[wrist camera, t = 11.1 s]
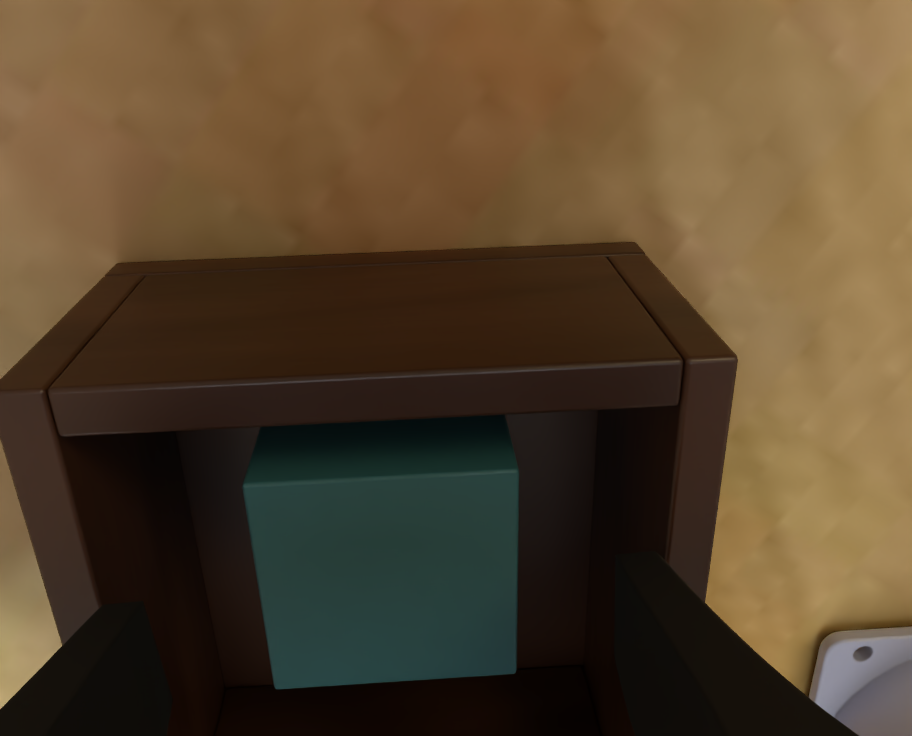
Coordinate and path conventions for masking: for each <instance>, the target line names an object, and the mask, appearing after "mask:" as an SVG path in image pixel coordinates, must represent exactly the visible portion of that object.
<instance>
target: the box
mask: <svg viewBox="0 0 912 736" xmlns="http://www.w3.org/2000/svg"><path fill="white" fill-rule="evenodd" d="M737 362H738V359H737V356H736V354H735V353H734V352H733V351H732V350H731V349H730V348H729V347H728V346H727V344H726V343H725V342H724V341H723V340H722V339H721V338H720V337H719V336H718V335H717V333H716V332H715V331H714V330H713V329H712V328H711V327H710V326H709V325H708V323H707V322H706V321H705V320H704V319H703V318H702V317H701V316H700V315H699V314H698V312H697V311H696V310H695V309H694V308H693V307H692V306H691V305H690V304H689V302H688V301H687V300H686V299H685V298H684V297H683V296H682V295H681V294H680V293H679V291H678V290H677V289H676V288H675V287H674V286H673V285H672V284H671V283H670V282H669V280H668V279H667V278H666V277H665V276H664V275H663V274H662V273H661V272H660V270H659V269H658V268H657V267H656V266H655V265H654V264H653V263H652V262H651V261H650V259H649V258H648V257H647V256H646V255H645V253H644V252H643V250H642V249H641V248H640V247H639V246H638V245H637V244H636V243H635V242H626V243H602V244H577V245H553V246H528V247H504V248H480V249H455V250H431V251H406V252H382V253H358V254H333V255H309V256H284V257H260V258H235V259H211V260H187V261H162V262H138V263H118V264H116V265H115V266H114V267H113V268H112V269H111V270H110V271H109V272H108V273H107V274H106V275H105V277H103V278H102V279H101V280H100V281H99V282H98V283H97V284H96V285H95V286H94V287H93V288H92V289H91V290H90V291H89V292H88V293H87V294H86V295H85V296H84V297H83V298H82V299H81V300H80V301H79V302H78V303H77V304H76V305H75V306H74V307H73V308H72V309H71V310H70V311H69V312H68V313H67V314H66V315H65V316H64V317H63V318H62V319H61V320H60V321H59V322H58V323H57V324H56V325H55V326H54V327H53V328H52V329H51V330H50V331H49V332H48V333H47V334H46V335H45V336H44V337H43V338H42V339H41V340H40V341H39V342H38V343H37V344H36V345H35V346H34V347H33V348H32V349H31V350H30V351H29V352H28V353H27V354H26V355H25V356H23V357H22V358H21V359H20V360H19V361H18V362H17V363H16V364H15V365H14V366H13V367H12V368H11V369H10V370H9V371H8V372H7V373H6V374H5V375H4V376H3V377H2V378H1V379H0V439H1V442H2V446H3V449H4V452H5V456H6V459H7V462H8V466H9V469H10V472H11V476H12V479H13V482H14V486H15V489H16V492H17V496H18V499H19V502H20V506H21V509H22V512H23V516H24V519H25V522H26V526H27V529H28V532H29V536H30V539H31V542H32V546H33V549H34V552H35V556H36V559H37V562H38V566H39V569H40V572H41V576H42V579H43V582H44V586H45V589H46V592H47V596H48V599H49V602H50V606H51V609H52V612H53V616H54V619H55V622H56V626H57V629H58V633H59V636H60V639H61V643H62V646H63V645H64V644H65V643H66V642H67V641H68V639H69V638H70V637H71V636H72V635H73V634H74V633H75V632H76V631H77V630H78V629H79V628H80V627H81V626H82V625H83V624H84V623H85V622H86V621H87V620H88V619H89V618H90V617H91V616H92V615H93V614H94V613H95V612H96V611H97V610H98V609H99V608H100V607H101V606H102V605H105V604H116V603H126V602H136V601H143V602H144V606H145V609H146V612H147V616H148V619H149V622H150V626H151V629H152V632H153V635H154V639H155V642H156V645H157V649H158V652H159V655H160V659H161V662H162V665H163V669H164V672H165V675H166V679H167V682H168V685H169V688H170V692H171V695H172V698H173V703H172V708H171V714H170V719H169V725H168V730H167V736H635V733H634V730H633V727H632V724H631V722H630V719H629V715H628V711H627V707H626V703H625V699H624V695H623V691H622V687H621V683H620V679H619V675H618V671H617V666H616V662H615V658H614V612H615V555H617V554H627V553H637V552H647V551H656V552H657V553H658V554H659V555H660V556H661V557H662V558H663V559H664V560H665V561H666V562H667V563H668V564H669V565H670V566H671V567H672V569H673V570H674V571H675V572H676V573H677V574H678V575H679V576H680V577H681V578H682V579H683V580H684V581H685V583H686V584H687V585H688V586H689V587H690V588H691V589H692V590H693V591H694V592H695V593H696V594H697V595H698V596H699V597H700V598H701V599H702V600H703V601H704V602H705V598H706V591H707V583H708V576H709V569H710V561H711V554H712V547H713V539H714V532H715V524H716V517H717V510H718V502H719V495H720V487H721V480H722V473H723V465H724V458H725V451H726V443H727V436H728V428H729V421H730V414H731V406H732V399H733V392H734V384H735V377H736V369H737ZM488 415H505V416H506V420H507V424H508V428H509V432H510V436H511V440H512V444H513V449H514V453H515V457H516V461H517V465H518V469H519V522H518V612H517V670H516V673H514V674H506V675H491V676H475V677H460V678H445V679H429V680H414V681H399V682H383V683H368V684H353V685H338V686H322V687H307V688H292V689H275V687H274V683H273V677H272V671H271V664H270V658H269V652H268V645H267V639H266V633H265V627H264V620H263V614H262V608H261V602H260V595H259V589H258V583H257V576H256V570H255V564H254V558H253V551H252V545H251V539H250V533H249V526H248V520H247V514H246V507H245V501H244V495H243V489H242V485H243V482H244V479H245V475H246V472H247V469H248V466H249V463H250V459H251V456H252V453H253V450H254V447H255V443H256V440H257V437H258V434H259V431H260V427H270V426H290V425H310V424H330V423H349V422H369V421H389V420H409V419H429V418H448V417H468V416H488Z"/></svg>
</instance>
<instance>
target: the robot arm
mask: <svg viewBox="0 0 912 736" xmlns="http://www.w3.org/2000/svg"><path fill="white" fill-rule="evenodd" d="M860 647H861V648H860ZM858 648H859V649H858ZM614 658H615V662H616V666H617V671H618V675H619V679H620V683H621V687H622V691H623V695H624V699H625V703H626V707H627V711H628V715H629V719H630V722H631V724H632V727H633V730H634V733H635V736H912V627H896V628H880V629H865V630H849V631H838V632H833V633H832V634H830V635H828V636H827V637H826V638H825V639H824V640H823V641H822V643H821V645H820V647H819V652H818V656H817V661H816V666H815V670H814V675H813V679H812V684H811V689H810V693H809V697H807V696H806V695H805V694H804V693H802V692H801V691H800V690H799V689H798V688H796V687H795V686H794V685H793V684H792V683H791V682H789V681H788V680H787V679H786V678H785V677H783V676H782V675H781V674H780V673H779V672H778V671H776V670H775V669H774V668H773V667H772V666H771V665H770V664H768V663H767V662H766V661H765V660H764V659H763V658H762V657H761V656H760V655H758V654H757V653H756V652H755V651H754V650H753V649H752V648H751V647H750V646H749V645H748V644H747V643H746V642H745V641H743V640H742V639H741V638H740V637H739V636H738V635H737V634H736V633H735V632H734V631H733V630H732V629H731V628H730V627H729V626H728V625H727V624H726V623H725V622H724V621H723V620H721V619H720V618H719V617H718V616H717V615H716V614H715V613H714V612H713V611H712V610H711V609H710V608H709V606H708V605H707V604H706V603H705V602H704V601H703V600H702V599H701V598H700V597H699V596H698V595H697V594H696V593H695V592H694V591H693V590H692V589H691V588H690V587H689V586H688V585H687V584H686V583H685V581H684V580H683V579H682V578H681V577H680V576H679V575H678V574H677V573H676V572H675V571H674V570H673V569H672V567H671V566H670V565H669V564H668V563H667V562H666V561H665V560H664V559H663V558H662V557H661V556H660V555H659V554H658V553H657V552H656V551H647V552H637V553H627V554H617V555H615V612H614ZM172 703H173V698H172V695H171V692H170V688H169V685H168V682H167V679H166V675H165V672H164V669H163V665H162V662H161V659H160V655H159V652H158V649H157V645H156V642H155V639H154V635H153V632H152V629H151V626H150V622H149V619H148V616H147V612H146V609H145V606H144V602H143V601H136V602H126V603H116V604H105V605H102V606H101V607H100V608H99V609H98V610H97V611H96V612H95V613H94V614H93V615H92V616H91V617H90V618H89V619H88V620H87V621H86V622H85V623H84V624H83V625H82V626H81V627H80V628H79V629H78V630H77V631H76V632H75V633H74V634H73V635H72V636H71V637H70V638H69V639H68V641H67V642H66V643H65V644H64V645H63V646H62V647H61V648H60V649H59V650H58V651H57V652H56V653H55V654H54V655H53V656H52V657H51V658H50V659H49V660H48V661H47V662H46V663H45V665H44V666H43V667H42V668H41V669H40V670H39V671H38V672H37V673H36V674H35V675H34V676H33V677H32V678H31V679H30V680H29V681H28V682H27V683H26V684H25V685H24V686H23V687H22V688H21V689H20V690H19V691H18V692H17V693H16V694H15V695H14V696H13V697H12V698H11V699H10V700H9V701H8V702H7V703H6V704H5V705H4V706H3V707H2V708H1V709H0V736H167V730H168V725H169V719H170V714H171V708H172Z"/></svg>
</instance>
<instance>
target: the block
mask: <svg viewBox="0 0 912 736" xmlns="http://www.w3.org/2000/svg"><path fill="white" fill-rule="evenodd" d="M242 489H243V495H244V501H245V507H246V514H247V520H248V526H249V533H250V539H251V545H252V551H253V558H254V564H255V570H256V576H257V583H258V589H259V595H260V602H261V608H262V614H263V620H264V627H265V633H266V639H267V645H268V652H269V658H270V664H271V671H272V677H273V683H274V687H275V689H292V688H307V687H322V686H338V685H353V684H368V683H383V682H399V681H414V680H429V679H445V678H460V677H475V676H491V675H506V674H514V673H516V670H517V612H518V522H519V469H518V465H517V461H516V457H515V453H514V449H513V444H512V440H511V436H510V432H509V428H508V424H507V420H506V416H505V415H488V416H468V417H448V418H429V419H409V420H389V421H369V422H349V423H330V424H310V425H290V426H270V427H260V431H259V434H258V437H257V440H256V443H255V447H254V450H253V453H252V456H251V459H250V463H249V466H248V469H247V472H246V475H245V479H244V482H243V485H242Z"/></svg>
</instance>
